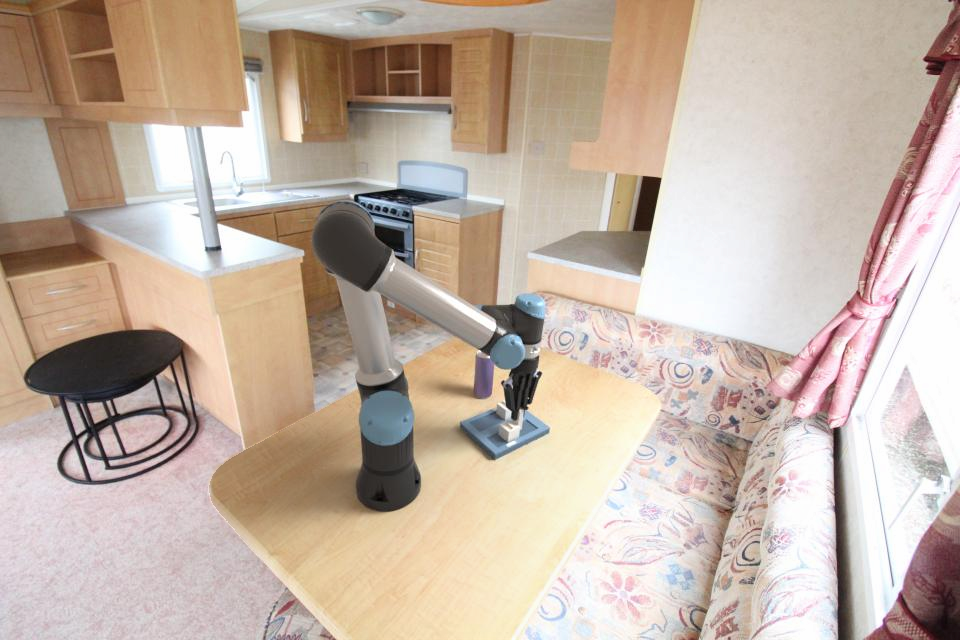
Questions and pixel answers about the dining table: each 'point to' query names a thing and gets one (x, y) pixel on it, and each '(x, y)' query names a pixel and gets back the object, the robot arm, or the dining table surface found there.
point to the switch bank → (487, 432)
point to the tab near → (509, 430)
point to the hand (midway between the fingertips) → (516, 427)
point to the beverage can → (483, 375)
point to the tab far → (503, 410)
